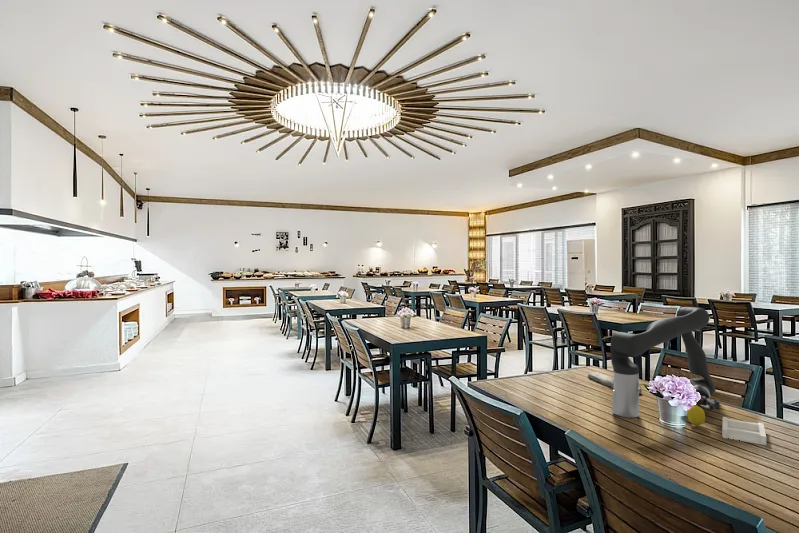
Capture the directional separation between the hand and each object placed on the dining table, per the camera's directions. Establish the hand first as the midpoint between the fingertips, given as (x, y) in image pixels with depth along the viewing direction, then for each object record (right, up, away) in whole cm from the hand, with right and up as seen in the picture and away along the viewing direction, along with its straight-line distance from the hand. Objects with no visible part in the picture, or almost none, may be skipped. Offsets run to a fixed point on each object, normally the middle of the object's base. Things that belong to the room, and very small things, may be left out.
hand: (697, 406), depth 174 cm
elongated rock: (-8, -6, +52) cm, 53 cm away
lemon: (-4, -6, -5) cm, 9 cm away
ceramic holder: (+8, -6, -13) cm, 16 cm away
